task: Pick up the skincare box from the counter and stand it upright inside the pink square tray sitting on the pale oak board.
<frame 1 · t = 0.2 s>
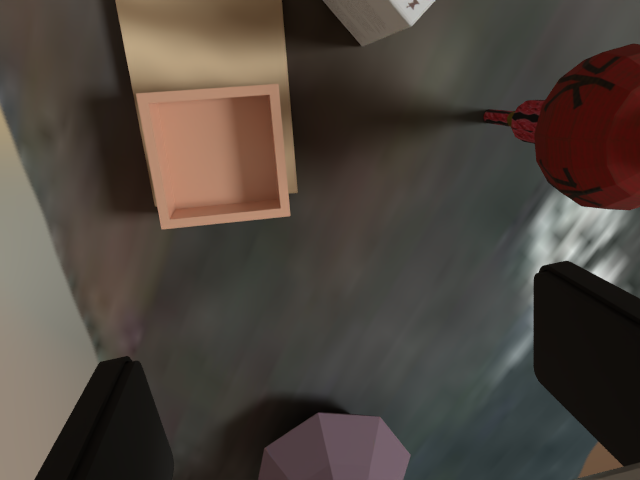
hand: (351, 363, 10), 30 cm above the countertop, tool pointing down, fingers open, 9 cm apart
flask: (326, 443, 50), on the countertop
lantern: (488, 116, 41), on the countertop
pink square tray: (221, 152, 37), resting on board
board: (215, 100, 37), on the countertop
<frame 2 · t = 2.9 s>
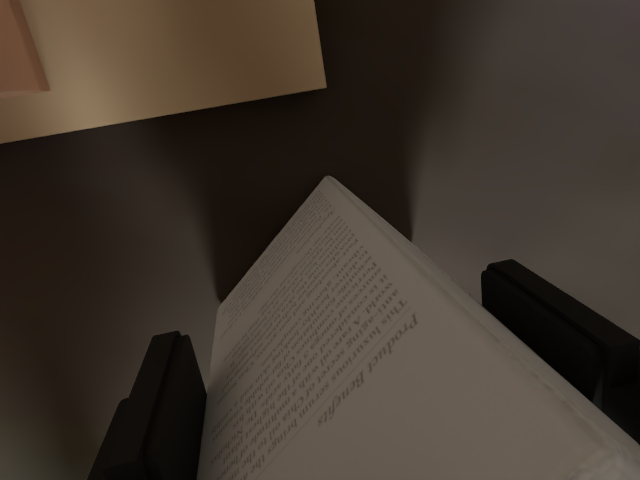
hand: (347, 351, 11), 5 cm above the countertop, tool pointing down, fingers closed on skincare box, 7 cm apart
skincare box: (318, 272, 16), on the countertop, touching gripper
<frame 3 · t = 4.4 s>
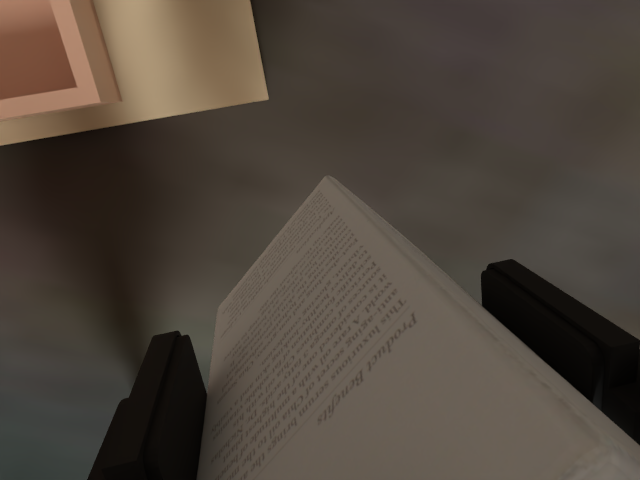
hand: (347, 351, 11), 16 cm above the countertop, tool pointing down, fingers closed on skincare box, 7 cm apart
skincare box: (318, 271, 16), point 11 cm above the countertop, touching gripper
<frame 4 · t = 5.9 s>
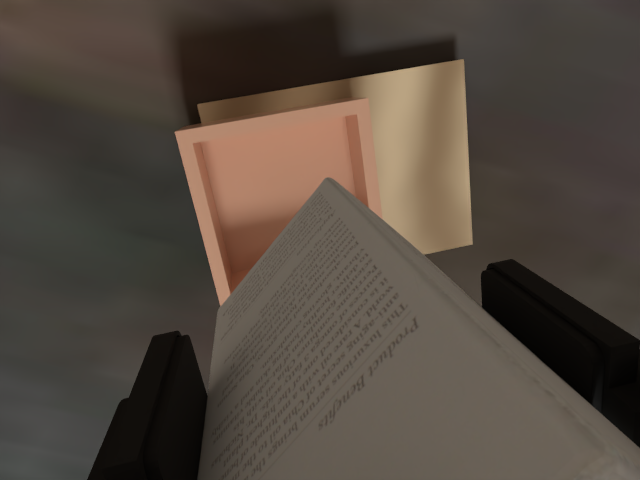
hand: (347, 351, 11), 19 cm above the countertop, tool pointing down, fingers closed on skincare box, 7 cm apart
skincare box: (318, 273, 16), point 14 cm above the countertop, touching gripper
pink square tray: (285, 193, 28), resting on board
board: (344, 177, 29), on the countertop
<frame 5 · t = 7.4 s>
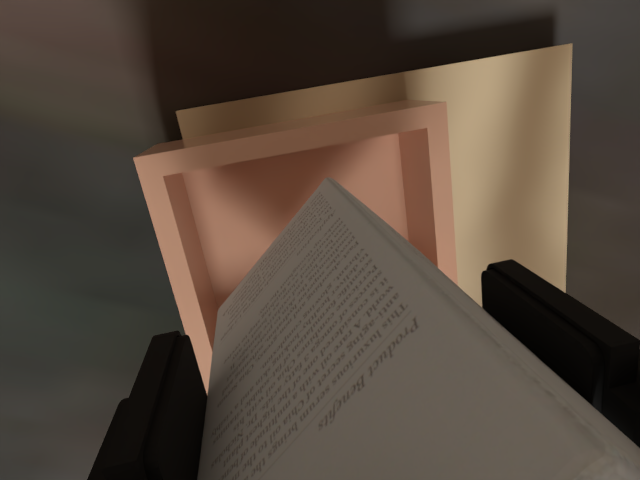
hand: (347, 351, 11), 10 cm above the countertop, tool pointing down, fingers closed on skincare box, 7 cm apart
skincare box: (318, 273, 16), point 5 cm above the countertop, touching gripper
pink square tray: (306, 239, 19), resting on board
board: (389, 214, 21), on the countertop
when the fingers open (7 cm above the countertop, at t = 9.0 s): skincare box stays where it is, resting on pink square tray.
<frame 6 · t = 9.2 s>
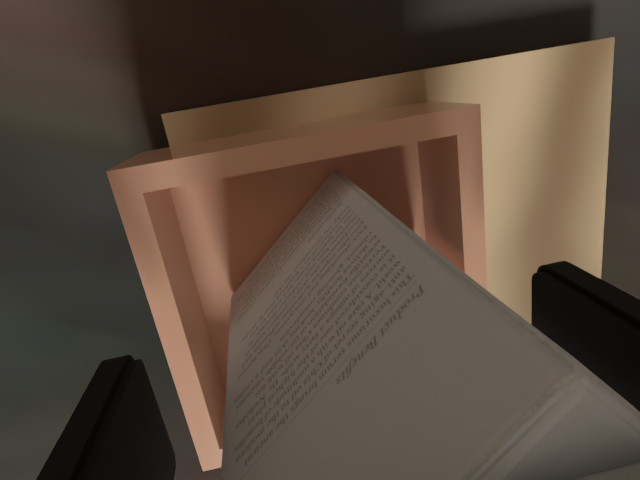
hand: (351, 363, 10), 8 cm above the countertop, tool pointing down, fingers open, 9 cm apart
skincare box: (325, 262, 17), point 2 cm above the countertop, touching pink square tray
pink square tray: (312, 259, 17), resting on board
board: (403, 229, 18), on the countertop
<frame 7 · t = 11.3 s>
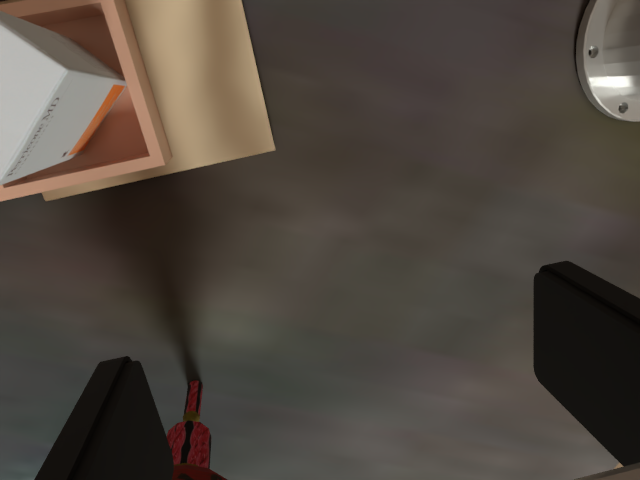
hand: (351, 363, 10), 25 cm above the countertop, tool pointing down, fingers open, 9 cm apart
skincare box: (78, 98, 29), point 2 cm above the countertop, touching pink square tray
lantern: (195, 385, 38), on the countertop
pink square tray: (72, 98, 29), resting on board
board: (139, 86, 30), on the countertop
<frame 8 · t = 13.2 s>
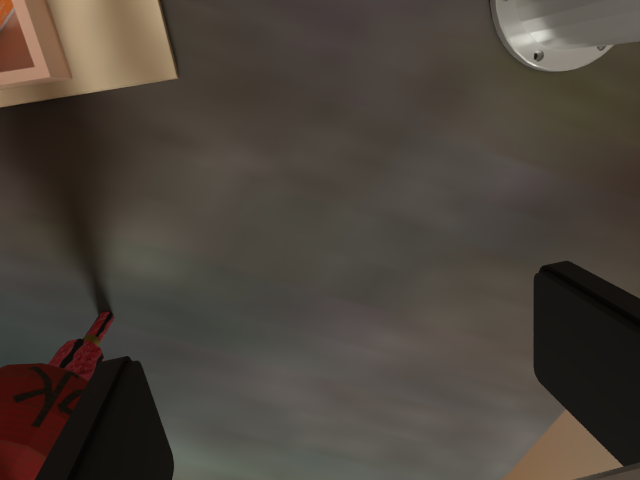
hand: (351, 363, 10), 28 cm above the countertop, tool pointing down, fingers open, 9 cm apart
lantern: (107, 316, 39), on the countertop
board: (40, 6, 31), on the countertop
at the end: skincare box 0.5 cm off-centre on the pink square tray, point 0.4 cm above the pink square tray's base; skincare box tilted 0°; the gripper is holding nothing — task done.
